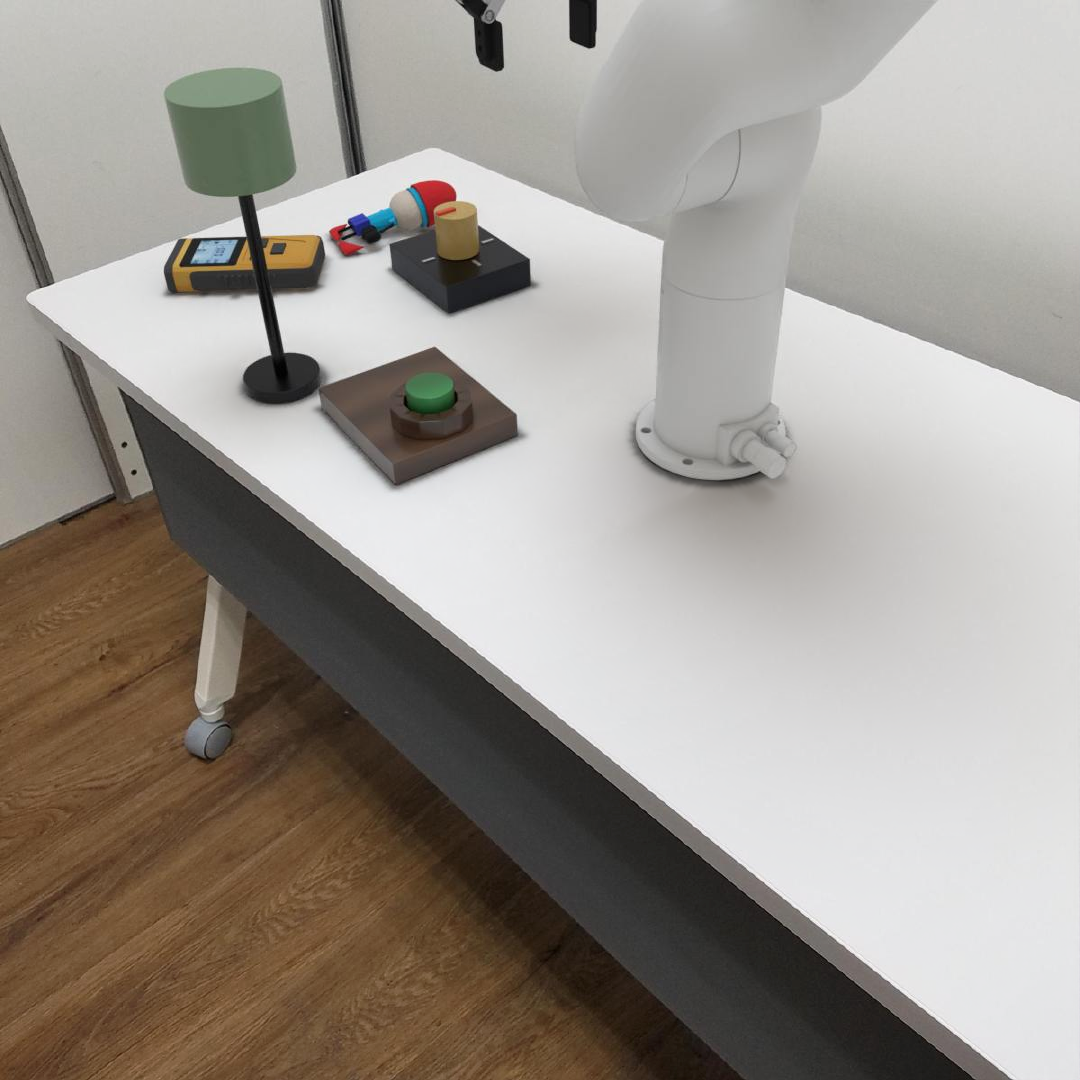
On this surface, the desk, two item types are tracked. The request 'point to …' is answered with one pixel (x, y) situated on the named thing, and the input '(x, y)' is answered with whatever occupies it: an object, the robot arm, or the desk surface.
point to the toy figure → (397, 214)
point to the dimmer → (456, 230)
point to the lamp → (243, 188)
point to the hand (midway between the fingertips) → (537, 55)
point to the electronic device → (243, 263)
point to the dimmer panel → (460, 270)
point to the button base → (416, 416)
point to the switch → (430, 393)
